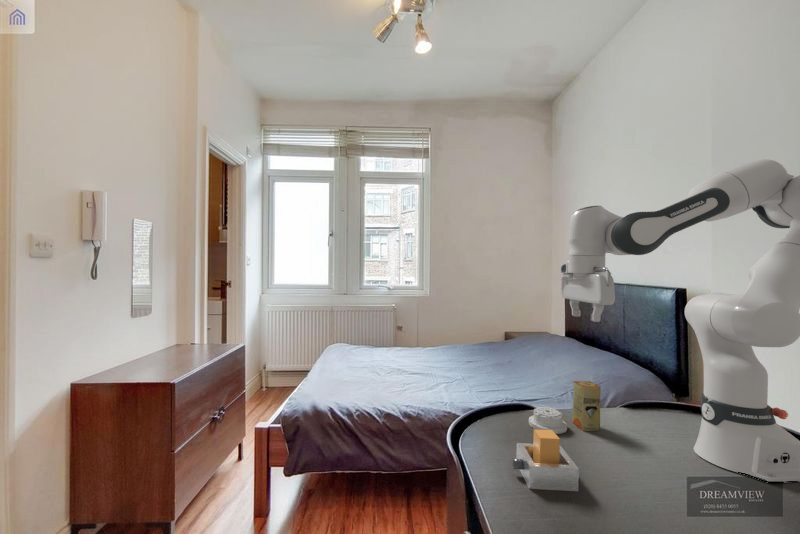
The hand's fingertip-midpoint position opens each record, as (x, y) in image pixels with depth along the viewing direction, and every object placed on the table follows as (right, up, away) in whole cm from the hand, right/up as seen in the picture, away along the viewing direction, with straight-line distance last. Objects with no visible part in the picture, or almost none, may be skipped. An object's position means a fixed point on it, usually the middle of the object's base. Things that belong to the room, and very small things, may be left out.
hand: (585, 318), depth 97 cm
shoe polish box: (+3, -31, +5) cm, 32 cm away
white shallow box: (-19, -31, -20) cm, 41 cm away
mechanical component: (-8, -31, +5) cm, 33 cm away
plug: (-19, -31, -20) cm, 41 cm away
